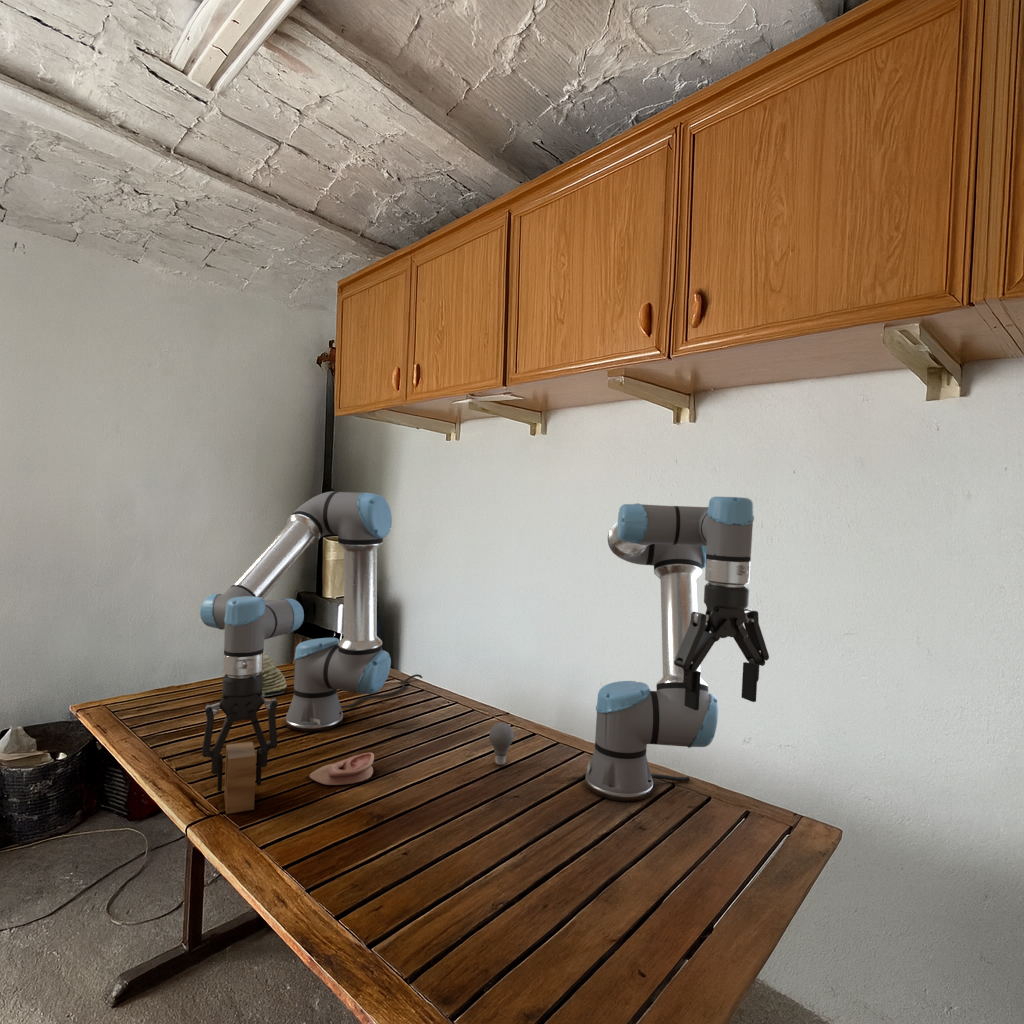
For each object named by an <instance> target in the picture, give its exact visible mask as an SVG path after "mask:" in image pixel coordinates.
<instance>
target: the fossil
mask: <svg viewBox="0 0 1024 1024" xmlns="http://www.w3.org/2000/svg"><path fill="white" fill-rule="evenodd" d="M261 673H262V675H263V683H262V695H263V696H264V698H266V697H271V696H275V695H281V694H284V693H285V691H286V689H287V687H288V686H287V680H286V678H285V676H284V674H283V673H282V672H281V669H279V668H278V667H277V665H276V663H275V662H274V660H273V659H272V658H271V657H270V656H269V655H268V654H267V653H266V652H265V651H264V652H263V670H262V671H261ZM224 675H226V674H224V673H223V675H222V677H224Z"/></svg>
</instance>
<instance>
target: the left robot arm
mask: <svg viewBox="0 0 1024 1024" xmlns="http://www.w3.org/2000/svg"><path fill="white" fill-rule="evenodd" d="M392 516H393V515H392V511H391V507H390V506H389V503H388V502H387V500H386V499H385V497H384V496H383V495H380V494H377V493H371V492H366V491H365V492H355V491H354V492H352V491H351V492H350V491H326V492H323V493H320V494H317V495H315V496H313V497H312V498H310V499H309V500H307V501H305V502H304V503H303V504H301V505H300V506H299V507H297V508H296V509H295V510H294V511H293V512H292V513H291V514H290V515H289V516H288V518H287V519H286V525H285V527H284V528H283V529H282V530H281V531H280V532H279V533H278V534H277V535H276V537H274V538H273V539H272V541H271V542H270V543H269V544H268V545H267V546H266V547H265V548H264V549H263V550H262V552H261V553H260V554H259V555H258V556H257V557H256V558H255V559H254V560H253V561H252V563H251V564H250V565H249V566H248V567H247V568H246V569H245V570H244V571H243V572H242V573H241V574H240V576H238V577H237V579H236V580H235V581H234V582H233V583H232V584H231V585H230V587H228V588H227V589H226V591H225V592H224V593H213V594H210V595H208V596H206V597H205V598H204V600H202V601H203V602H202V603H201V605H200V609H199V615H200V619H201V622H202V623H203V624H204V625H205V626H206V627H209V628H214V629H218V630H223V631H224V638H223V639H224V641H223V643H224V644H223V646H224V647H223V660H222V661H223V662H222V672H223V675H224V674H226V675H224V676H222V690H221V691H222V692H221V697H220V700H219V701H218V702H216V703H213V704H210V703H207V704H206V705H205V715H206V723H205V730H204V736H203V743H202V751H201V752H202V757H204V758H210V759H211V773H212V775H217V779H216V780H217V782H216V789H217V792H222V791H223V767H224V766H223V765H224V757H223V753H222V750H223V747H224V745H225V743H226V740H227V738H228V735H229V733H230V730H231V728H232V726H233V724H234V722H238V721H241V720H245V721H248V720H249V721H250V722H251V725H252V728H253V730H254V733H255V736H256V738H257V742H258V744H259V747H260V748H256V771H255V784H256V786H261V785H262V769H263V768H267V765H268V756H269V751H270V750H272V749H276V748H277V747H278V734H277V721H276V720H277V719H276V711H277V707H278V703H279V702H278V701H277V698H276V697H271V698H266V697H264V696H263V695H262V683H263V675H262V673H261V671H262V670H263V652H265V640H268V639H272V638H275V637H276V638H277V637H279V636H282V635H287V634H290V633H292V632H294V631H296V630H298V629H299V628H300V627H301V626H302V624H303V622H304V619H305V613H304V608H303V606H302V604H301V603H300V602H299V601H297V600H296V599H294V598H280V599H279V600H277V599H275V600H273V599H265V598H266V596H268V594H270V592H271V591H272V590H273V588H274V587H275V586H276V585H277V583H278V582H279V581H280V580H281V579H282V578H283V577H284V575H285V574H287V572H288V571H289V569H290V568H291V567H292V566H293V565H294V564H295V563H296V561H297V560H299V558H300V556H301V555H303V554H304V552H305V550H307V549H308V547H309V546H310V545H313V544H315V543H317V542H318V541H319V540H320V539H321V538H322V537H324V536H327V535H333V536H337V544H338V545H339V546H340V547H341V548H342V549H343V638H342V639H341V640H340V639H339V638H337V637H321V638H313V639H307V640H304V641H302V642H299V643H298V644H297V645H296V647H295V652H294V653H295V654H294V658H293V660H294V672H293V673H294V674H293V695H292V696H293V697H292V699H291V702H290V704H289V708H288V711H287V713H286V715H285V726H286V728H287V729H289V730H291V731H294V732H295V731H296V732H301V733H316V732H325V731H329V730H332V729H335V728H337V727H339V726H340V725H342V723H343V722H344V713H343V709H349V708H352V707H354V706H356V705H357V704H359V702H362V701H364V700H367V699H376V698H383V697H384V698H385V697H389V696H392V695H396V694H398V693H401V692H402V691H403V690H404V689H405V688H406V685H405V683H406V682H408V681H409V680H411V679H413V678H416V677H417V678H418V677H419V678H420V679H423V675H422V674H417V673H416V674H413V675H412V674H411V676H409V677H406V679H404V680H403V681H402V683H401V685H402V686H401V688H399V689H397V690H394V691H392V692H388V693H383V694H376V693H378V692H379V691H380V690H381V689H382V688H383V687H384V685H385V683H386V681H387V679H388V677H389V674H390V671H391V665H392V659H391V656H390V654H389V652H388V651H386V650H383V640H382V639H381V638H379V636H378V635H377V630H378V628H377V627H378V626H377V625H378V623H377V622H378V621H377V620H378V619H377V615H378V611H377V610H378V608H377V607H378V597H377V596H378V549H379V547H381V546H382V545H383V544H384V541H383V540H384V538H387V536H388V535H389V534H390V532H391V528H392V526H393V525H392V524H393V517H392ZM338 691H345V692H351V693H357V694H359V695H362V694H366V695H367V696H363V697H361V698H359V699H357V700H355V702H353V703H351V704H345V705H341V702H340V699H339V695H338ZM373 694H374V695H373ZM263 705H264V707H265V709H266V711H267V719H268V721H267V722H268V733H269V740H268V741H266V738H265V735H264V732H263V730H262V727H261V724H260V721H259V719H258V716H257V713H258V712H259V711H260V709H261V708H262V707H263ZM220 709H221V711H222V712H223V713H224V715H225V717H224V721H223V724H222V726H221V729H220V731H219V734H218V736H217V739H216V741H215V743H214V746H213V748H211V745H212V738H213V737H212V736H213V731H214V724H215V716H217V715H218V713H219V710H220Z"/></svg>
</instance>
